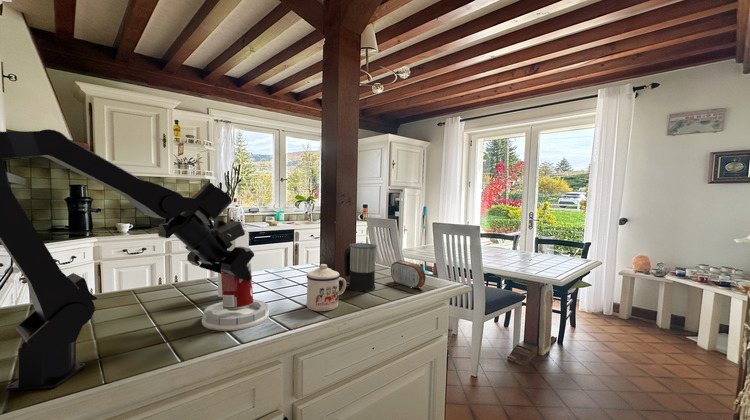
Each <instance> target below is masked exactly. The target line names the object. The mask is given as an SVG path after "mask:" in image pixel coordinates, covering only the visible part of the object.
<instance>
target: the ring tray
mask: <svg viewBox="0 0 750 420" xmlns="http://www.w3.org/2000/svg"><path fill="white" fill-rule="evenodd" d="M269 317H270V311H269V306H268V304H267V303H266V302H265V301H263V300H260V299H255V298H253V304H252V305H250V306H249V307H248V308H245V309H242V310H236V311H229V310H227V309H224V308H223V301H220V302H217V303H214V304H211V305H209V306H207V307H206V308H205V309H204V310H203V315H202V317H201V325H202V326H203V327H204V328H206V329H208V330H212V331H218V332H220V331H221V332H223V331H225V332H227V331H228V332H229V331H239V330H244V329H248V328H252V327H255V326H258V325H260V324H263V323H264V322H266V321H267V320H268V319H269Z"/></svg>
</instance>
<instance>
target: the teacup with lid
mask: <svg viewBox="0 0 750 420" xmlns="http://www.w3.org/2000/svg"><path fill="white" fill-rule="evenodd" d="M306 279H307V280H306V281H307V282H306V283H307V285H306V286H307V287H306V307H307V309H309V310H311V311H316V312H328V311H333V310H334V309H337V308H338V307H339V296H340V295H342V294H343V293H344V292H345V290H346V288H347V285H346V284H347V281H346V279H345V278H343V277H340V273H339V272H338V271H336V270H333V269H332V268H329V267H328V265H327V263H326V264H325V263H321V264H320V265H319V267H317V268H315V269H314V270H311V271H309V272H307V274H306ZM339 280H341V281H343V286H342V289H341V290H340V291H339V288H340V287H339V286H340V284H339ZM338 291H339V292H338Z"/></svg>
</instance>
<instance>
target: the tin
mask: <svg viewBox="0 0 750 420" xmlns="http://www.w3.org/2000/svg"><path fill="white" fill-rule="evenodd" d="M390 276H391V279H392V280H393V281H394V283H396V284H398V283H399V284H398V285H400V284H402V286H403V285H405V286H404V287H407V286H408V287H407V288H410V287H412V288H411V289H413V288H416V289H418V288H419V287H420V288H422V287H423V286H424V285H425V282H426V273H425V270H424V268H423V267H422V266H421V265H420V264H418V263H415V262H414V263H413V262H409V261H406V260H402V259H401V260H398V261H395V262H393V263H392V264H391V266H390Z"/></svg>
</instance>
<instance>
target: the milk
mask: <svg viewBox="0 0 750 420" xmlns="http://www.w3.org/2000/svg"><path fill="white" fill-rule="evenodd" d="M241 225H242V227H243V230H244V232H245V235H243V236H240V237H238V238H237V239H235V240H233V241H231V243H232V244H233V245H232V246H231V247H230V248H228V249H227V250H228V251H232V250H233V249H234V248H235V247H245V248H249V244H250V243H249V241H250V232H248V231H247V230H246V229H244V226H243V222H241ZM217 297H218V298H222V280H221V274H220V273H217Z"/></svg>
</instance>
